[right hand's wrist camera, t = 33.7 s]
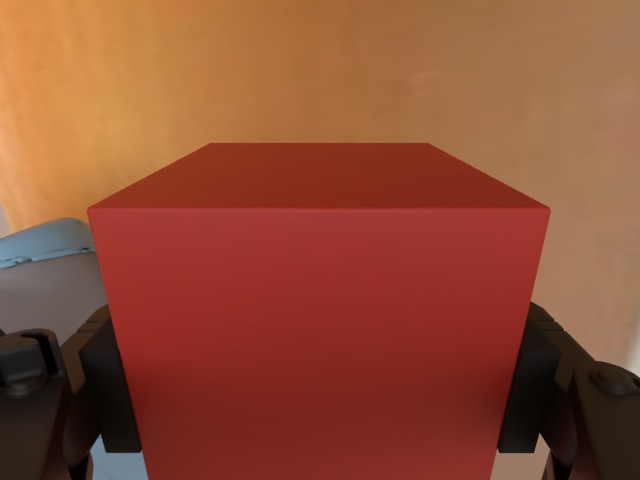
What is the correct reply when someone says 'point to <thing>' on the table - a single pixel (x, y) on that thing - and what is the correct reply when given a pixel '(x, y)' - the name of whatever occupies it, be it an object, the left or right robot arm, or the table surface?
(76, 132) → the table surface
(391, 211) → the block
